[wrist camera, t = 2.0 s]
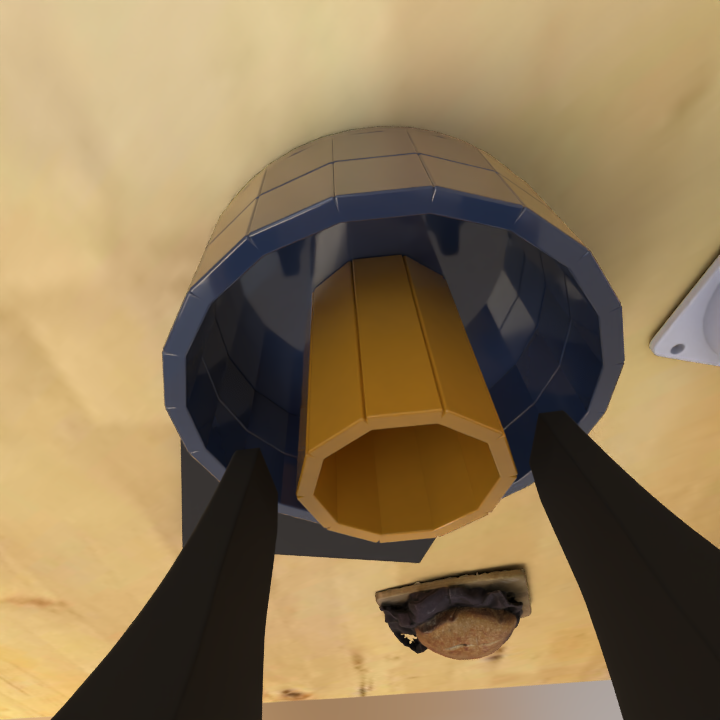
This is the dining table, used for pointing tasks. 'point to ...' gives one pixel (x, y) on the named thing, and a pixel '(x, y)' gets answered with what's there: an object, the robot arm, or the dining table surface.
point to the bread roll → (458, 613)
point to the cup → (395, 408)
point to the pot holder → (292, 526)
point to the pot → (376, 239)
